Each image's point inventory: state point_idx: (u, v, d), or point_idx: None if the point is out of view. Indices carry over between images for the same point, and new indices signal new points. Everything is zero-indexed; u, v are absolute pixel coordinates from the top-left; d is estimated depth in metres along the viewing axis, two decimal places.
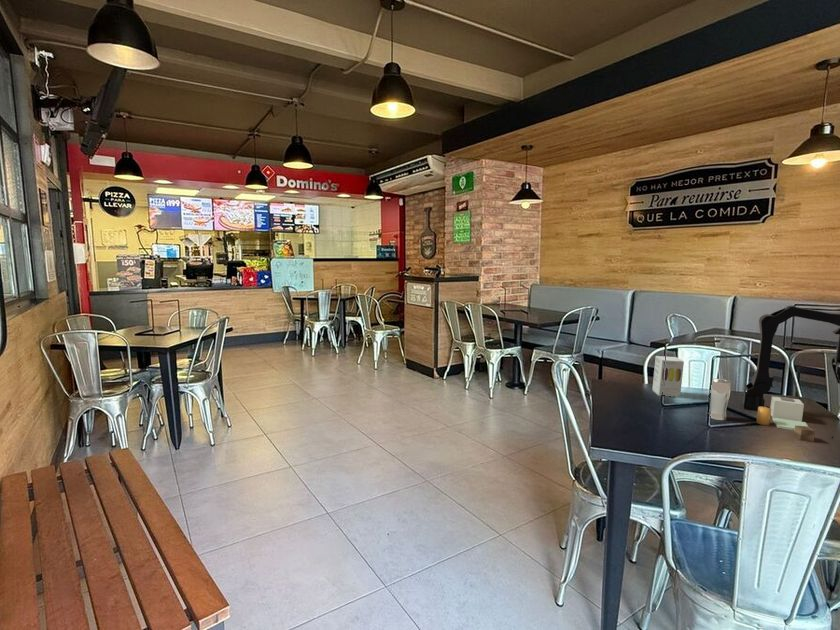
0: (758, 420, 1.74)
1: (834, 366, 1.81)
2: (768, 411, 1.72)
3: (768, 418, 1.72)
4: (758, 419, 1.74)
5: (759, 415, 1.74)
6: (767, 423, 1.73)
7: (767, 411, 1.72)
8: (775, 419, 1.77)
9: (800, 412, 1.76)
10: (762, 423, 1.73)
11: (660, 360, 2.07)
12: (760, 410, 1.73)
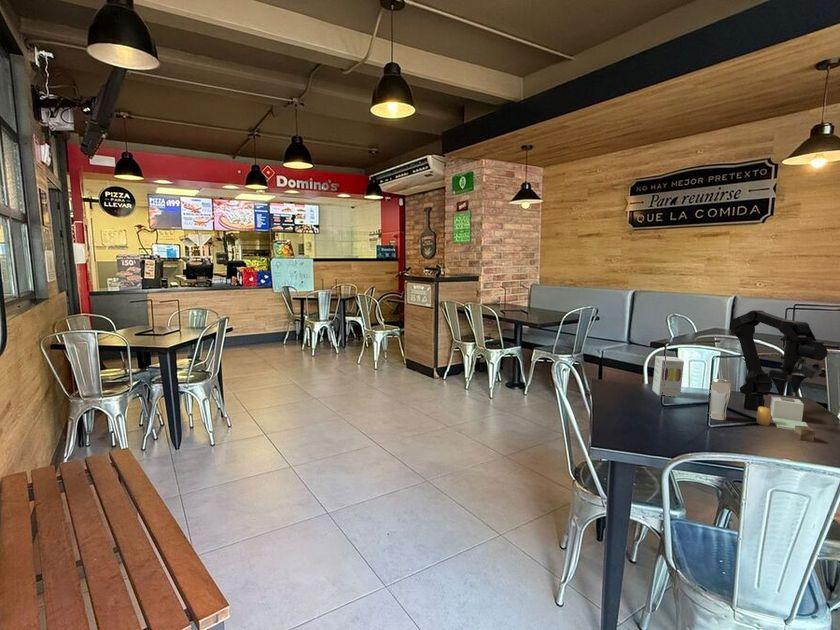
0: (758, 420, 1.74)
1: (791, 375, 1.78)
2: (768, 411, 1.72)
3: (768, 418, 1.72)
4: (758, 419, 1.74)
5: (759, 415, 1.74)
6: (767, 423, 1.73)
7: (767, 411, 1.72)
8: (775, 419, 1.77)
9: (800, 412, 1.76)
10: (762, 423, 1.73)
11: (660, 360, 2.07)
12: (760, 410, 1.73)
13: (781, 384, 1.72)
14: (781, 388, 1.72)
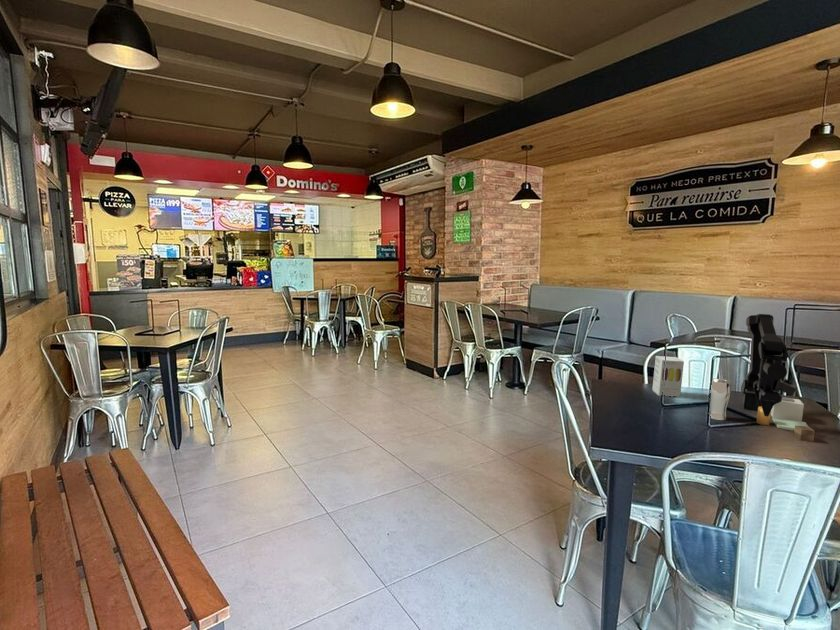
0: (758, 420, 1.74)
1: (756, 391, 1.79)
2: None
3: (768, 418, 1.72)
4: (758, 419, 1.74)
5: (759, 415, 1.74)
6: (767, 423, 1.73)
7: None
8: (775, 419, 1.77)
9: (800, 412, 1.76)
10: (762, 423, 1.73)
11: (660, 360, 2.07)
12: (760, 410, 1.73)
13: (768, 405, 1.68)
14: (768, 409, 1.69)
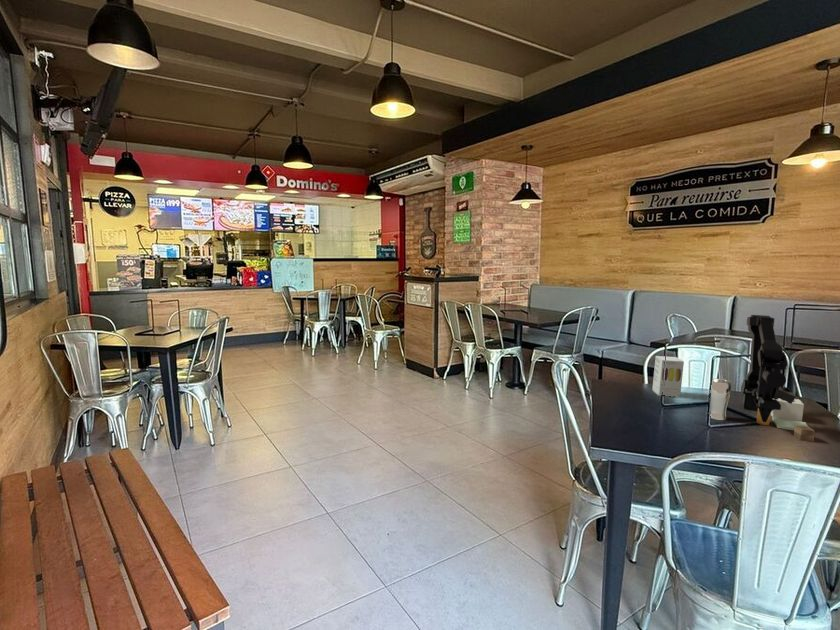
0: (758, 420, 1.74)
1: (757, 401, 1.77)
2: None
3: (768, 418, 1.72)
4: (758, 419, 1.74)
5: (759, 415, 1.74)
6: (767, 423, 1.73)
7: None
8: (775, 419, 1.77)
9: (800, 412, 1.76)
10: (762, 423, 1.73)
11: (660, 360, 2.07)
12: None
13: (766, 411, 1.71)
14: (766, 415, 1.71)
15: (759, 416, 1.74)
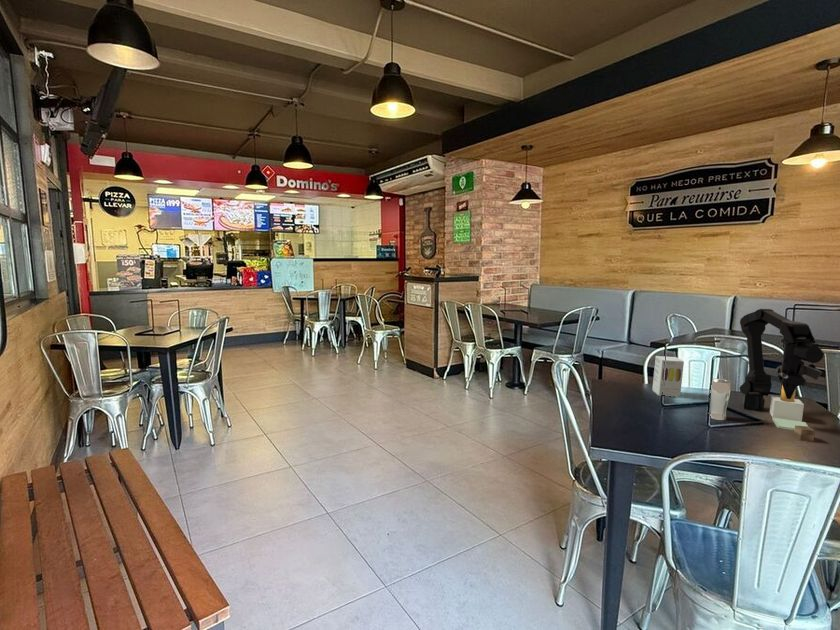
0: (782, 397, 1.71)
1: (781, 378, 1.74)
2: None
3: (792, 395, 1.69)
4: (782, 396, 1.71)
5: (783, 392, 1.71)
6: (791, 400, 1.69)
7: None
8: (775, 419, 1.77)
9: (800, 412, 1.76)
10: (786, 400, 1.70)
11: (660, 360, 2.07)
12: None
13: (791, 387, 1.68)
14: (790, 391, 1.68)
15: (783, 393, 1.71)
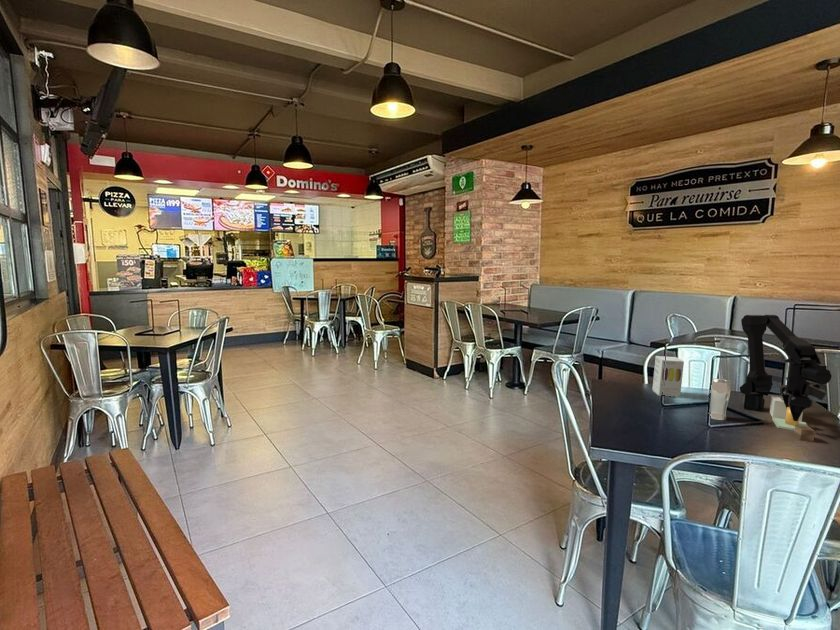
0: (787, 421, 1.72)
1: (784, 396, 1.76)
2: None
3: None
4: (787, 420, 1.72)
5: (788, 416, 1.71)
6: (796, 424, 1.70)
7: None
8: (775, 419, 1.77)
9: None
10: (791, 424, 1.71)
11: (660, 360, 2.07)
12: (789, 410, 1.71)
13: (798, 410, 1.66)
14: (798, 414, 1.66)
15: (788, 417, 1.71)
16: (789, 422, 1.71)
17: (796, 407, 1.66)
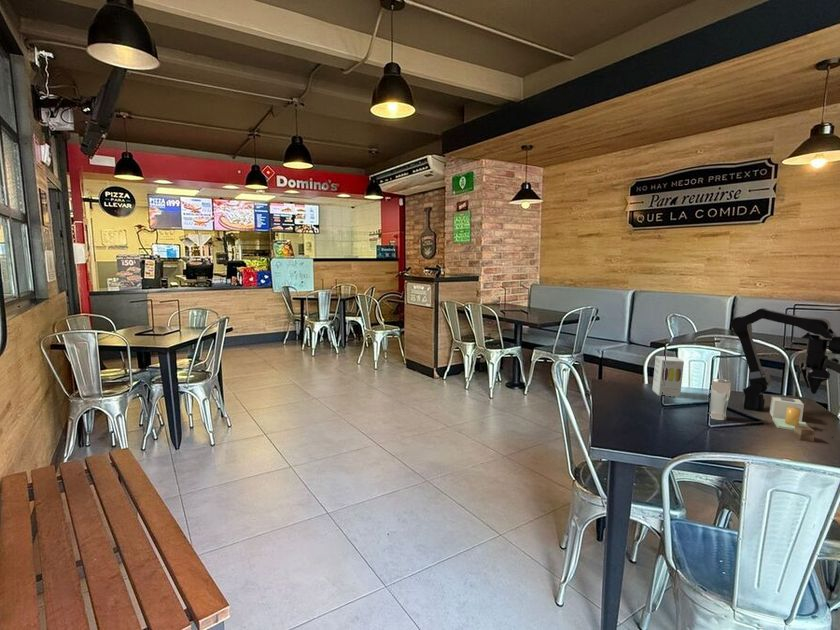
0: (787, 420, 1.72)
1: (803, 370, 1.81)
2: (797, 411, 1.69)
3: (797, 419, 1.70)
4: (787, 419, 1.72)
5: (788, 415, 1.71)
6: (796, 424, 1.70)
7: (797, 412, 1.69)
8: (775, 419, 1.77)
9: (800, 412, 1.76)
10: (791, 424, 1.71)
11: (660, 360, 2.07)
12: (789, 410, 1.71)
13: (816, 382, 1.71)
14: (816, 386, 1.71)
15: (788, 416, 1.71)
16: (789, 422, 1.71)
17: (814, 380, 1.71)
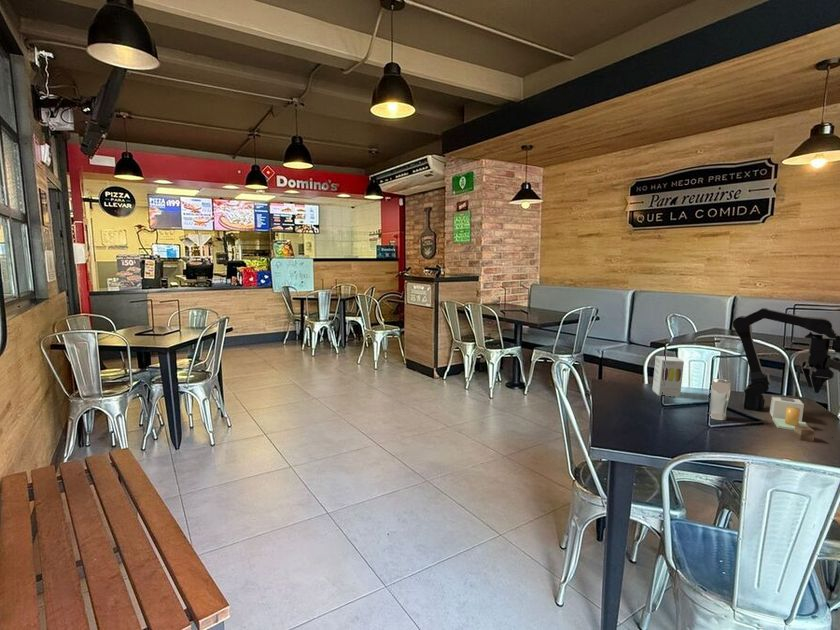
0: (786, 420, 1.72)
1: (805, 370, 1.83)
2: (797, 411, 1.70)
3: (797, 418, 1.70)
4: (786, 419, 1.72)
5: (787, 415, 1.71)
6: (796, 423, 1.70)
7: (796, 411, 1.70)
8: (775, 419, 1.77)
9: (800, 412, 1.76)
10: (791, 423, 1.71)
11: (660, 360, 2.07)
12: (788, 410, 1.71)
13: (819, 382, 1.72)
14: (819, 386, 1.73)
15: (787, 416, 1.71)
16: (789, 422, 1.71)
17: (817, 379, 1.72)
